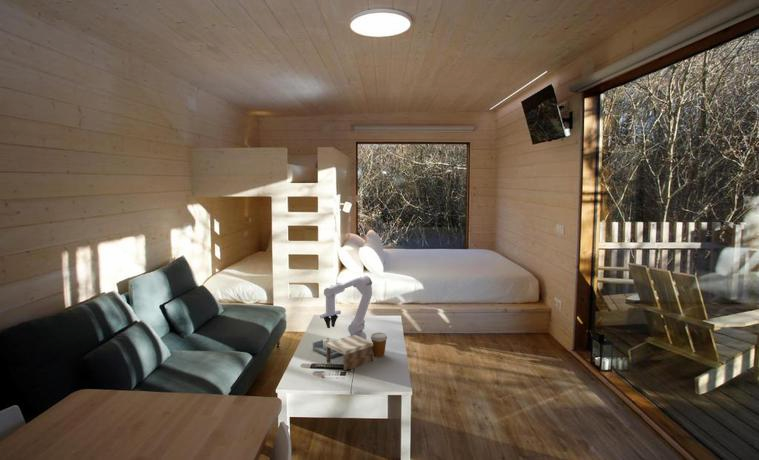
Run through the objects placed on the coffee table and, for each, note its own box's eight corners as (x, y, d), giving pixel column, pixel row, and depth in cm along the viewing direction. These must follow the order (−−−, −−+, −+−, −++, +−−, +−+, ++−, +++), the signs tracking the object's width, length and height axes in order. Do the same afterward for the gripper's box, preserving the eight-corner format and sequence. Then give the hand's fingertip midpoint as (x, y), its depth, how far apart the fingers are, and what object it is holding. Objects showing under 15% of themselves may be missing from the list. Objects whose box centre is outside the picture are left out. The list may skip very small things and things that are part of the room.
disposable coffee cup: (385, 359, 254) (385, 338, 253) (369, 357, 256) (369, 337, 255) (388, 352, 264) (388, 333, 262) (372, 351, 266) (372, 331, 264)
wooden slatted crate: (354, 352, 264) (354, 334, 263) (373, 361, 252) (373, 342, 250) (326, 361, 250) (326, 342, 249) (344, 371, 238) (344, 351, 237)
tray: (327, 344, 276) (327, 335, 275) (345, 353, 263) (345, 343, 262) (312, 349, 268) (312, 339, 268) (330, 358, 255) (330, 348, 255)
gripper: (335, 302, 286) (336, 323, 288) (317, 306, 276) (317, 328, 278) (342, 304, 281) (342, 325, 283) (323, 309, 271) (323, 331, 273)
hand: (330, 327), depth 280 cm, fingers open, 3 cm apart
